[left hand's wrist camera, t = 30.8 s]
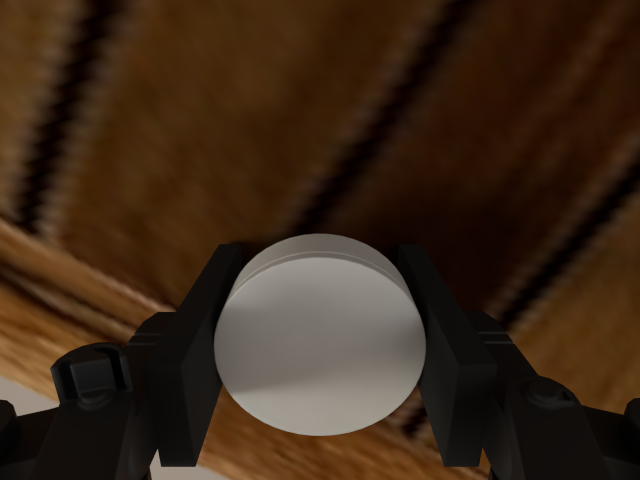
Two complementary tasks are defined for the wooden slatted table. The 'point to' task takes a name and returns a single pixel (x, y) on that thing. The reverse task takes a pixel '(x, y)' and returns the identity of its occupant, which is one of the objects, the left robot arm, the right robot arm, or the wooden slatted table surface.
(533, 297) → the wooden slatted table surface
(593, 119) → the wooden slatted table surface
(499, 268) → the wooden slatted table surface
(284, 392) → the lid
